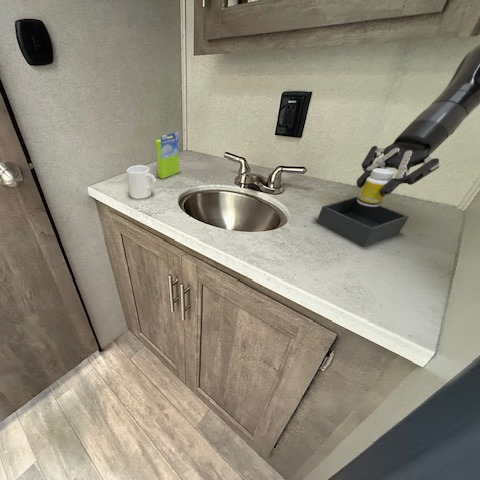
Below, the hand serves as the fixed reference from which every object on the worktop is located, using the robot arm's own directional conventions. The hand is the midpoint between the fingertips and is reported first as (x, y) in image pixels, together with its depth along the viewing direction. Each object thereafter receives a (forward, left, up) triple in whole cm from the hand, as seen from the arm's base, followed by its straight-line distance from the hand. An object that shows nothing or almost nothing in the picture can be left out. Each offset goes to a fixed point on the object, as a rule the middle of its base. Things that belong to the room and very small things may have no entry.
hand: (370, 189), depth 59 cm
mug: (+62, -17, -12) cm, 66 cm away
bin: (-1, -1, -12) cm, 12 cm away
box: (+57, -39, -12) cm, 70 cm away
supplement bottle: (-2, -1, -4) cm, 5 cm away
